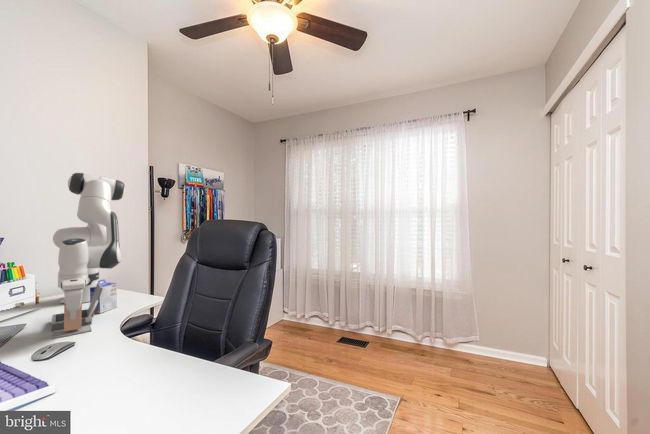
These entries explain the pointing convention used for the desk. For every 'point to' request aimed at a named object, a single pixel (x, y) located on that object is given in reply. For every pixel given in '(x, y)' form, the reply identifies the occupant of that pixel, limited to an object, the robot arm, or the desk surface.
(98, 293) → the case
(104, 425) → the desk surface
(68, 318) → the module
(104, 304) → the ink cartridge box
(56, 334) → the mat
